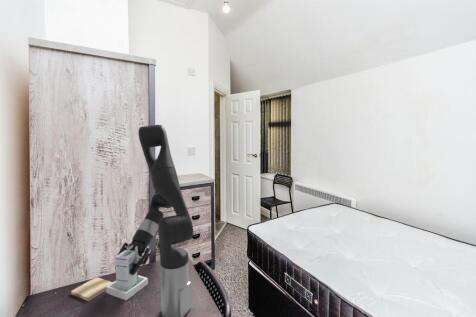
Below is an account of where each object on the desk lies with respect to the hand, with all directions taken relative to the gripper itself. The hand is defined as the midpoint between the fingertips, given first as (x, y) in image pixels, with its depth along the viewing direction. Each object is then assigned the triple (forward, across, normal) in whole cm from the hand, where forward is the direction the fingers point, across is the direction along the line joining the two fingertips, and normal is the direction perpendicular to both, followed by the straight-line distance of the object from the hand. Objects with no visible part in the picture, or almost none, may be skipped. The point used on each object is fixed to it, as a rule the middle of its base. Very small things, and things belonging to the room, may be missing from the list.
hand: (124, 272), depth 88 cm
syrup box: (+4, 0, +6) cm, 8 cm away
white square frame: (+4, 0, +6) cm, 8 cm away
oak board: (+8, -12, +2) cm, 15 cm away
